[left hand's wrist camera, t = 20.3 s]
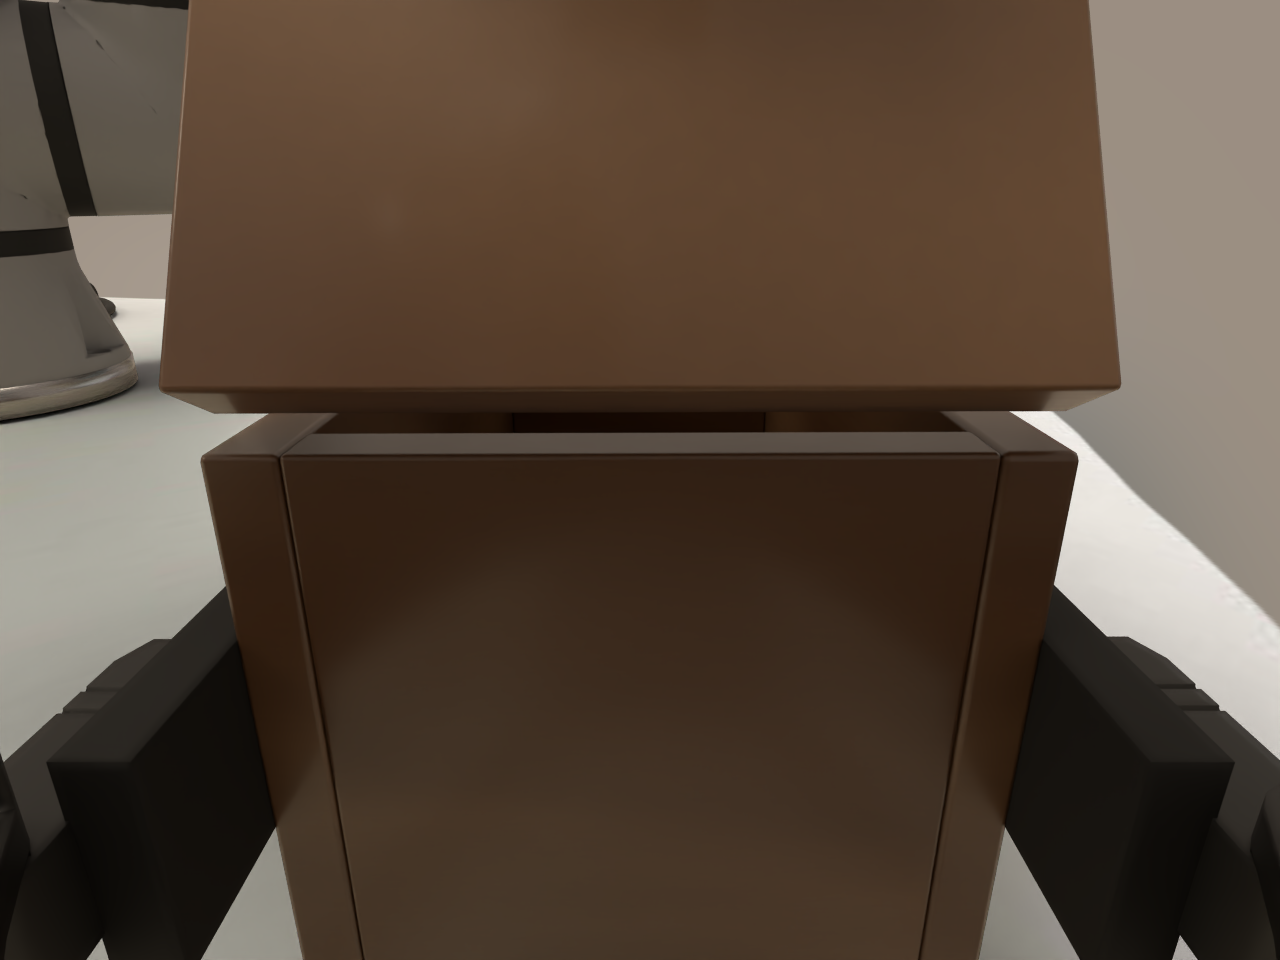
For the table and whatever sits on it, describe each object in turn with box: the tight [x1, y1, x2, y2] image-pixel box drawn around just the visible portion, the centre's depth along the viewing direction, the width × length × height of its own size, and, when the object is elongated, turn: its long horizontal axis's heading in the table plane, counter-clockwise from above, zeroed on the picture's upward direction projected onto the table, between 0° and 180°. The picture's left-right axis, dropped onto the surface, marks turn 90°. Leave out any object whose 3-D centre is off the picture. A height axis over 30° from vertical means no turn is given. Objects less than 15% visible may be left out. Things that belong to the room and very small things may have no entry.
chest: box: [201, 411, 1079, 960], centre depth 17 cm, size 16×9×10 cm, turn 0°
